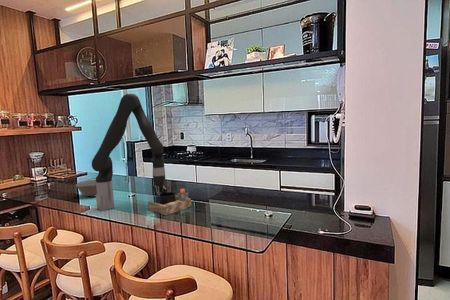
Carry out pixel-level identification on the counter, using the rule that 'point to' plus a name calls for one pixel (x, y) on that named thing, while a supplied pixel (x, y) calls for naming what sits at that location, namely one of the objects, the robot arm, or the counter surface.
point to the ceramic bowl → (87, 187)
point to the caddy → (171, 205)
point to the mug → (167, 197)
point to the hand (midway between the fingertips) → (160, 201)
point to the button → (182, 191)
